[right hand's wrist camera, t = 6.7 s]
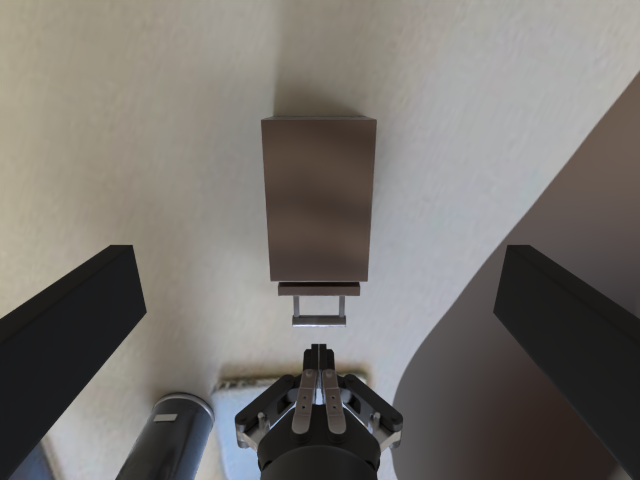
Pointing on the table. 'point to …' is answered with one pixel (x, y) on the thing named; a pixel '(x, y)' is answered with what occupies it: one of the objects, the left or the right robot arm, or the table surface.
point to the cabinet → (318, 196)
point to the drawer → (319, 290)
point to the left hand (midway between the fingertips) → (319, 351)
